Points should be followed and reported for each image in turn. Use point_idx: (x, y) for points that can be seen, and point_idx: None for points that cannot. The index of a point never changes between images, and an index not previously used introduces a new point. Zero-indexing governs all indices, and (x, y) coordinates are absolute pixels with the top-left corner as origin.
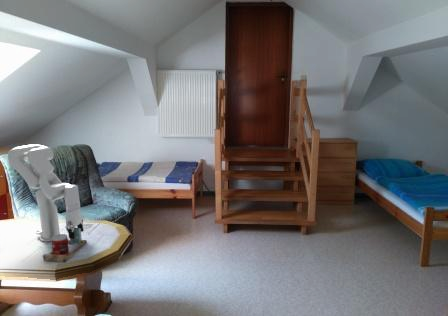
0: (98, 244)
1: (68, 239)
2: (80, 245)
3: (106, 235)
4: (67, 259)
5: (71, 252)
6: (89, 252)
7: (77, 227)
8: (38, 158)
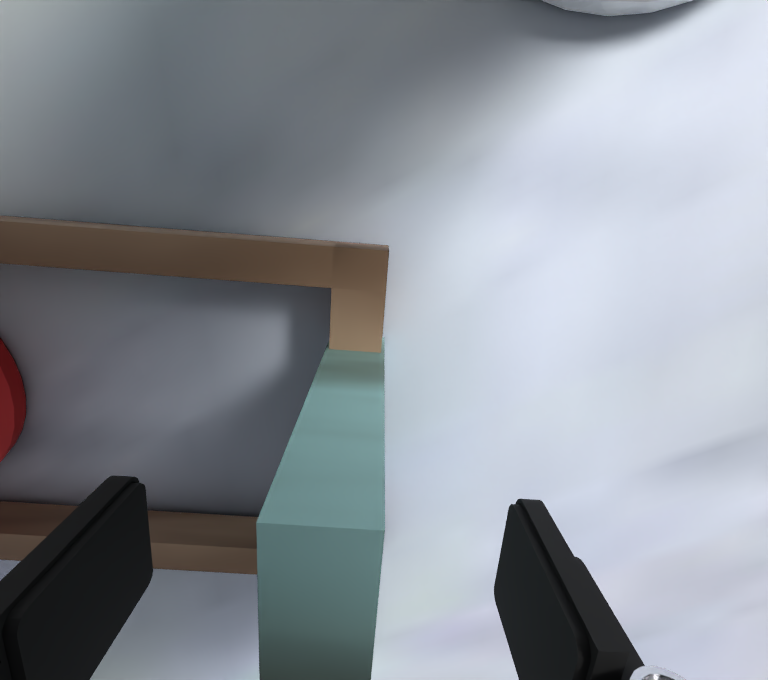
0: None
1: (377, 292)
2: (175, 568)
3: None
4: None
5: None
6: (118, 651)
7: (551, 585)
8: None
